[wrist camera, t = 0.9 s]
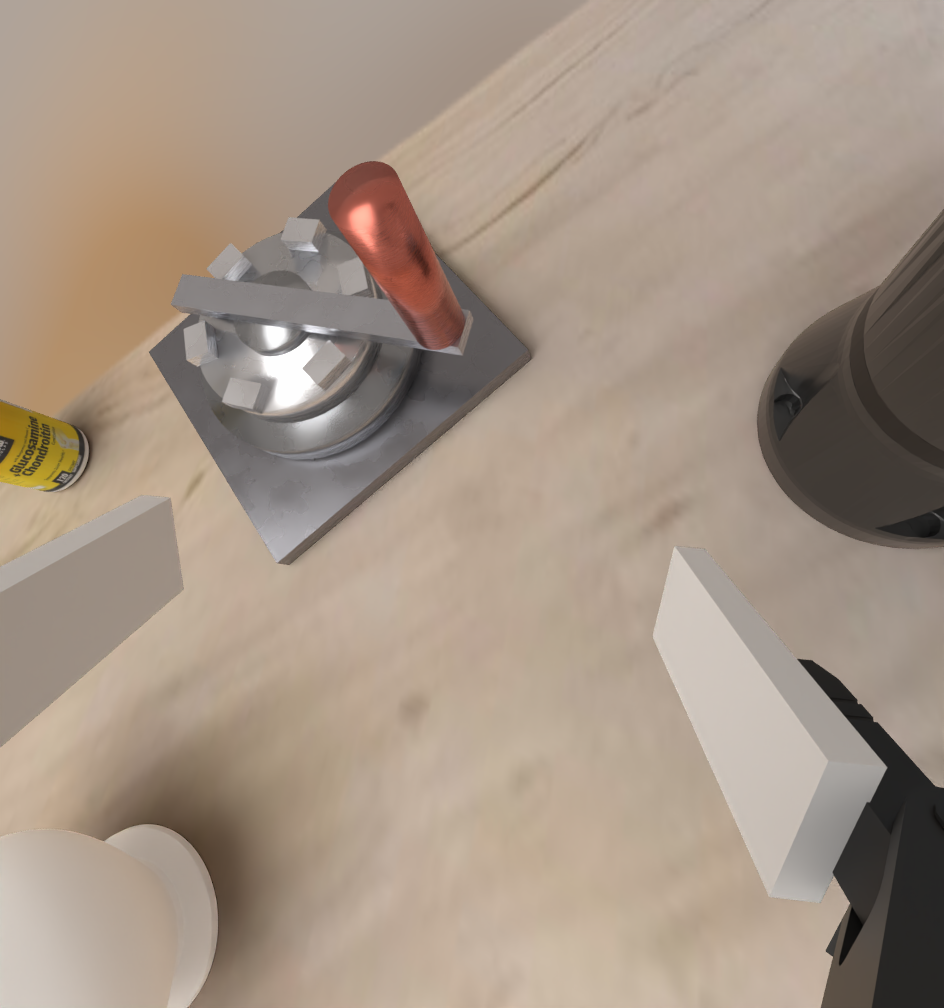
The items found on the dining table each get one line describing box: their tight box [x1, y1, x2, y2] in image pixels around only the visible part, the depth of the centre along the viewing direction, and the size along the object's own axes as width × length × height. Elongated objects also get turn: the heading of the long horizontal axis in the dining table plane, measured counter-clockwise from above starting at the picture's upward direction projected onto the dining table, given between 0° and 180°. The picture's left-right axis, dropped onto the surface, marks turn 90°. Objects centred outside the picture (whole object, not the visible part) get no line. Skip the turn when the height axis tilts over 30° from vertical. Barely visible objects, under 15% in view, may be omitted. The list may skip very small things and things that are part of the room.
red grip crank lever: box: [171, 161, 474, 423], centre depth 30 cm, size 22×14×14 cm, turn 74°
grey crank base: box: [149, 183, 531, 565], centre depth 40 cm, size 24×24×4 cm
